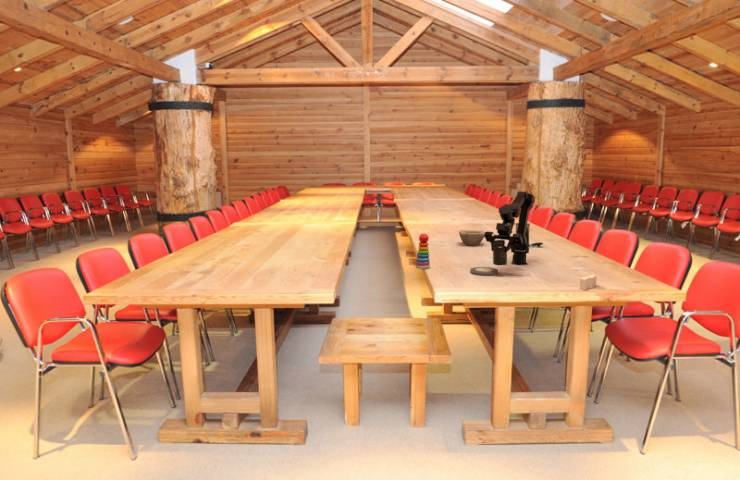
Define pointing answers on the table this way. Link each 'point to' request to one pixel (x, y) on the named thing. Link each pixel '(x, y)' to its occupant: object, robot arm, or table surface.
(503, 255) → the supplement bottle
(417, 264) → the stacking toy
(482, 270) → the hub pad
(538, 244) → the milk frother
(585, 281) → the napkin holder
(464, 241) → the mortar
